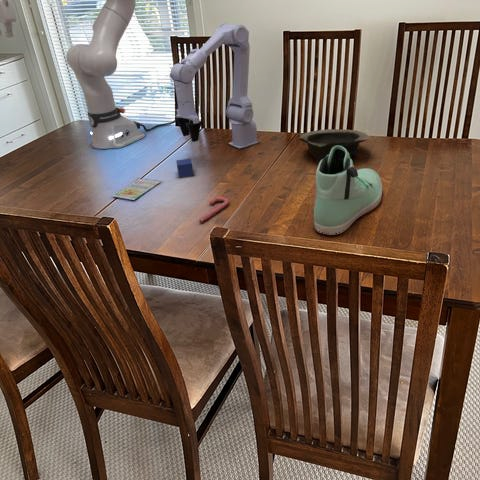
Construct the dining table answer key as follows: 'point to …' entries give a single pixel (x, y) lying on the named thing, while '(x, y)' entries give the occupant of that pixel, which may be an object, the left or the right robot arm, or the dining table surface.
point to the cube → (185, 168)
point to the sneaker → (343, 192)
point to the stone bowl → (333, 141)
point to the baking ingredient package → (136, 189)
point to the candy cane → (215, 208)
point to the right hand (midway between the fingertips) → (190, 138)
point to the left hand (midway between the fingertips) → (4, 36)
